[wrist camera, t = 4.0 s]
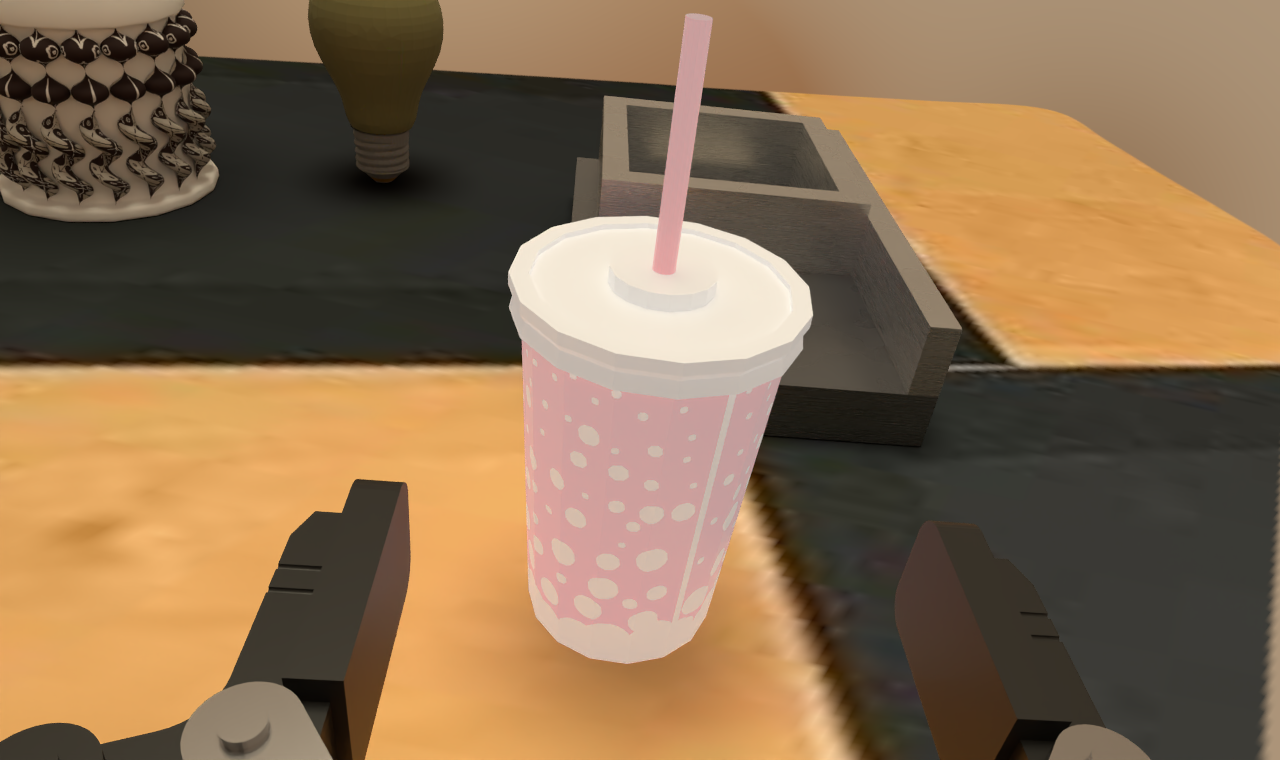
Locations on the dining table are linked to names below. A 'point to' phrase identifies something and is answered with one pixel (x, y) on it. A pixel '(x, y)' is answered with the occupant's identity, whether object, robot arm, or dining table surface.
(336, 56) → the light bulb
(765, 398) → the beverage cup
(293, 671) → the robot arm
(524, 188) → the dining table surface
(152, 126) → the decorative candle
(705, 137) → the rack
